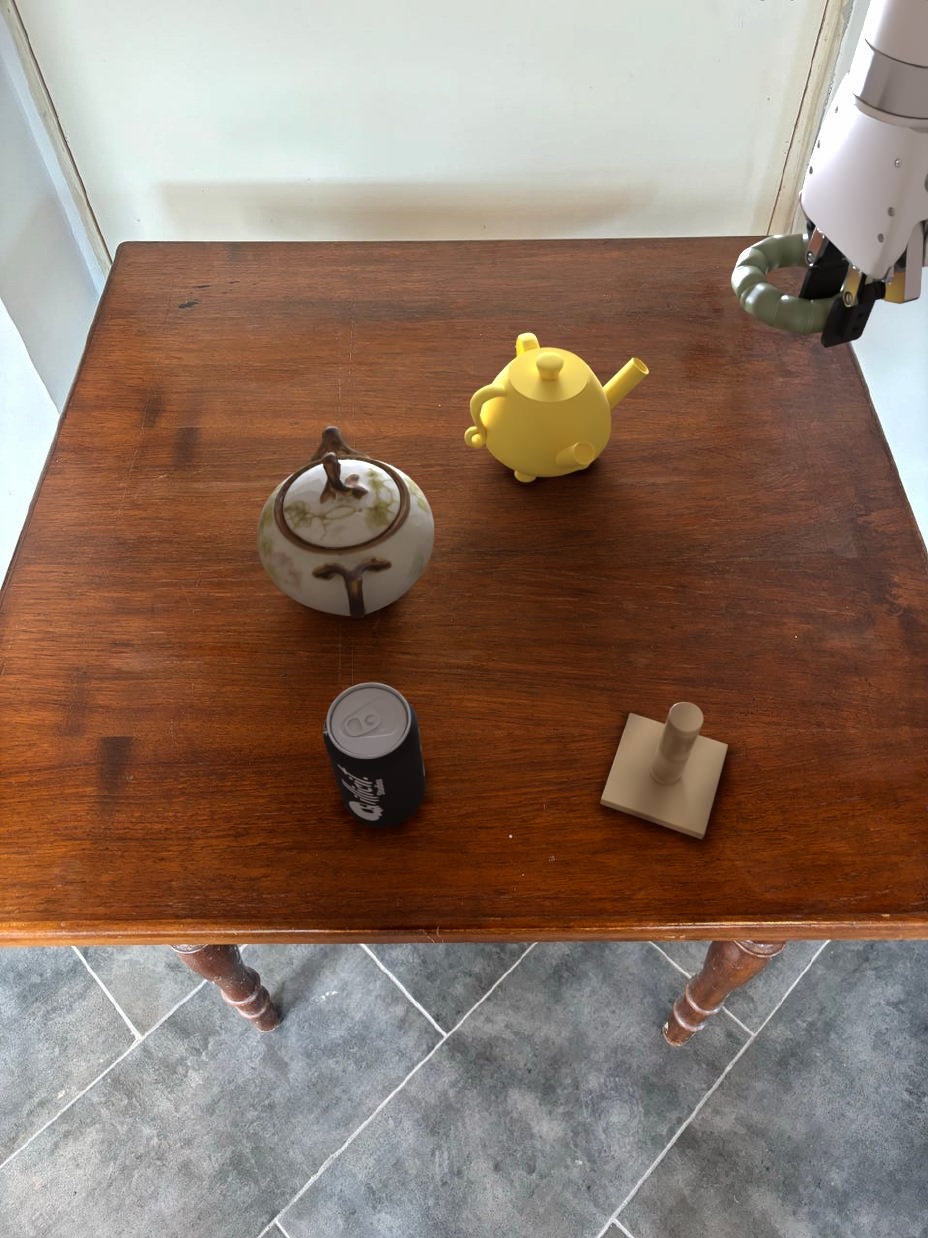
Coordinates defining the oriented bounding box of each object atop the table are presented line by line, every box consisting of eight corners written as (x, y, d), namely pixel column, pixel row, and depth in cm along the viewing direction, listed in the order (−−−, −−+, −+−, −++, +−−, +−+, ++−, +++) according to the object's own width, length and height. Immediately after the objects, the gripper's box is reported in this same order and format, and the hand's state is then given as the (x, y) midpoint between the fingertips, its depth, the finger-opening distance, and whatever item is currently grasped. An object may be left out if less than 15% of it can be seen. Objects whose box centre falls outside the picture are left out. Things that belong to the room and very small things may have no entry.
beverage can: (438, 813, 73) (431, 743, 63) (357, 843, 71) (336, 777, 61) (409, 741, 76) (398, 664, 66) (331, 769, 75) (308, 695, 65)
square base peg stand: (725, 750, 75) (755, 687, 67) (701, 840, 71) (730, 785, 63) (628, 718, 77) (645, 653, 69) (599, 804, 73) (614, 746, 64)
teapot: (580, 524, 88) (592, 439, 79) (453, 473, 92) (450, 386, 83) (640, 427, 95) (657, 338, 86) (520, 383, 99) (524, 294, 90)
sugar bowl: (265, 507, 90) (230, 388, 78) (420, 485, 91) (409, 364, 79) (280, 684, 79) (241, 578, 67) (455, 655, 81) (449, 546, 68)
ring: (877, 271, 74) (888, 244, 72) (856, 353, 69) (866, 326, 67) (746, 243, 77) (753, 216, 75) (715, 321, 71) (722, 294, 69)
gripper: (1065, 126, 52) (934, 383, 67) (892, 0, 61) (811, 253, 76) (948, 154, 51) (842, 410, 66) (789, 22, 59) (728, 275, 74)
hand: (826, 324), depth 71 cm, fingers closed on ring, 2 cm apart
